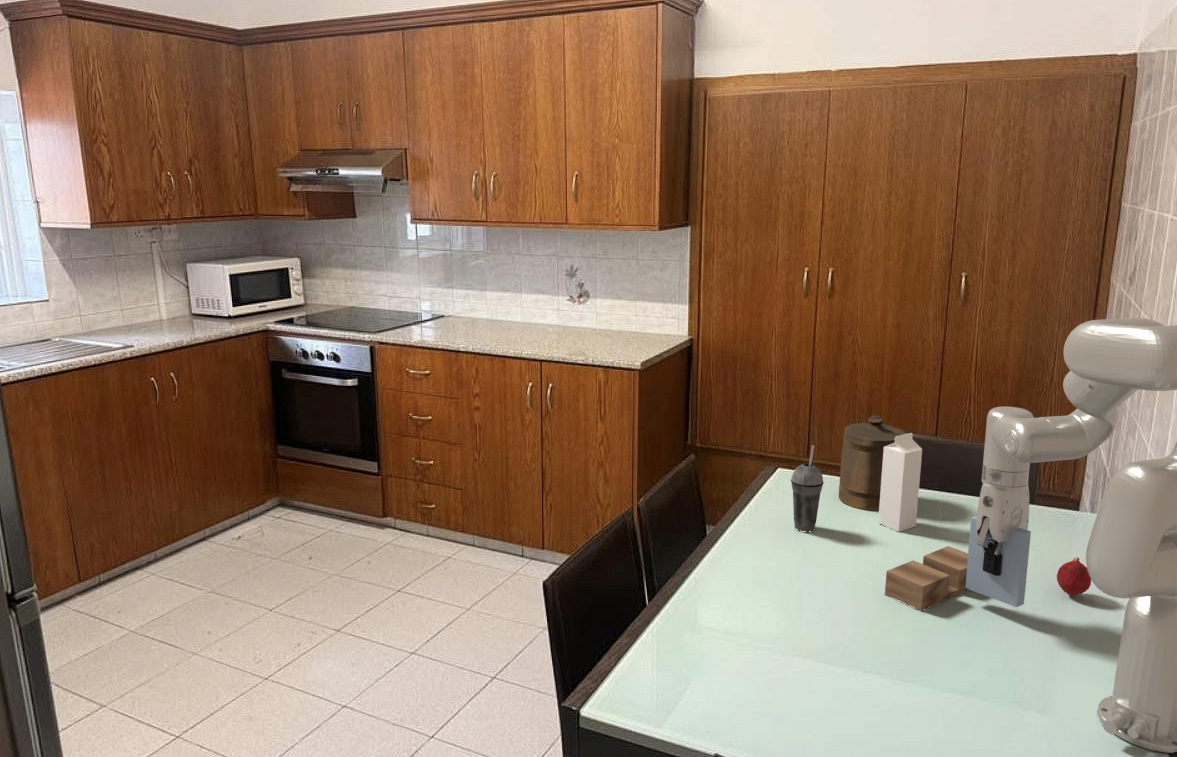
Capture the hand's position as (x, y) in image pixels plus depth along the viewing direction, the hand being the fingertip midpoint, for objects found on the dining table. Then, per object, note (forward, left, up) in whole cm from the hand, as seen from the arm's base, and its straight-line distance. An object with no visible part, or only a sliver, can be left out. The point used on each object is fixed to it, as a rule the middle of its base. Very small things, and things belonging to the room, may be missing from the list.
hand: (996, 570), depth 158 cm
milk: (+20, +36, -9) cm, 42 cm away
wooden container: (+28, +50, -9) cm, 58 cm away
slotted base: (-1, +12, -8) cm, 14 cm away
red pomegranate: (+18, -5, -9) cm, 21 cm away
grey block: (0, 0, -5) cm, 5 cm away
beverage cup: (+1, +47, -9) cm, 47 cm away
